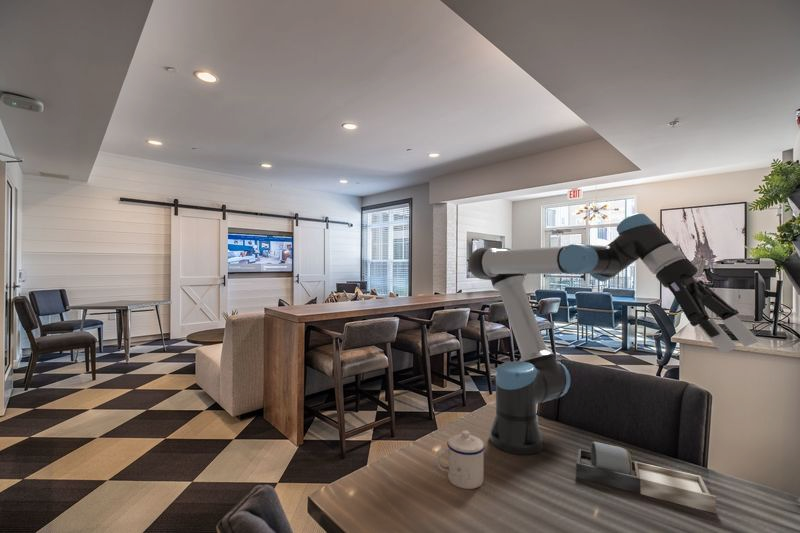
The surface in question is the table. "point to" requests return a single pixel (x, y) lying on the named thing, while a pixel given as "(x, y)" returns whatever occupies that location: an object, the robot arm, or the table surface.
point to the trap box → (652, 483)
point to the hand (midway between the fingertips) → (741, 347)
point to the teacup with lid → (464, 460)
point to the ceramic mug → (611, 458)
